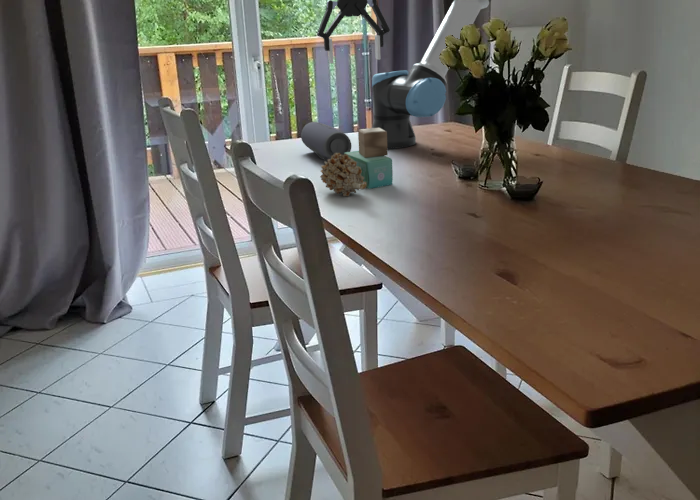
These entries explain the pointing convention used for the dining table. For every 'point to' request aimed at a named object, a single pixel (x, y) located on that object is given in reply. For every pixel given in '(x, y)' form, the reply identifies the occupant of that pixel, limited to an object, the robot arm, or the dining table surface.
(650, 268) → the dining table surface
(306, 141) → the bluetooth speaker
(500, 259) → the dining table surface
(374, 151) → the walnut cube
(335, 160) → the pine cone
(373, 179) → the box
